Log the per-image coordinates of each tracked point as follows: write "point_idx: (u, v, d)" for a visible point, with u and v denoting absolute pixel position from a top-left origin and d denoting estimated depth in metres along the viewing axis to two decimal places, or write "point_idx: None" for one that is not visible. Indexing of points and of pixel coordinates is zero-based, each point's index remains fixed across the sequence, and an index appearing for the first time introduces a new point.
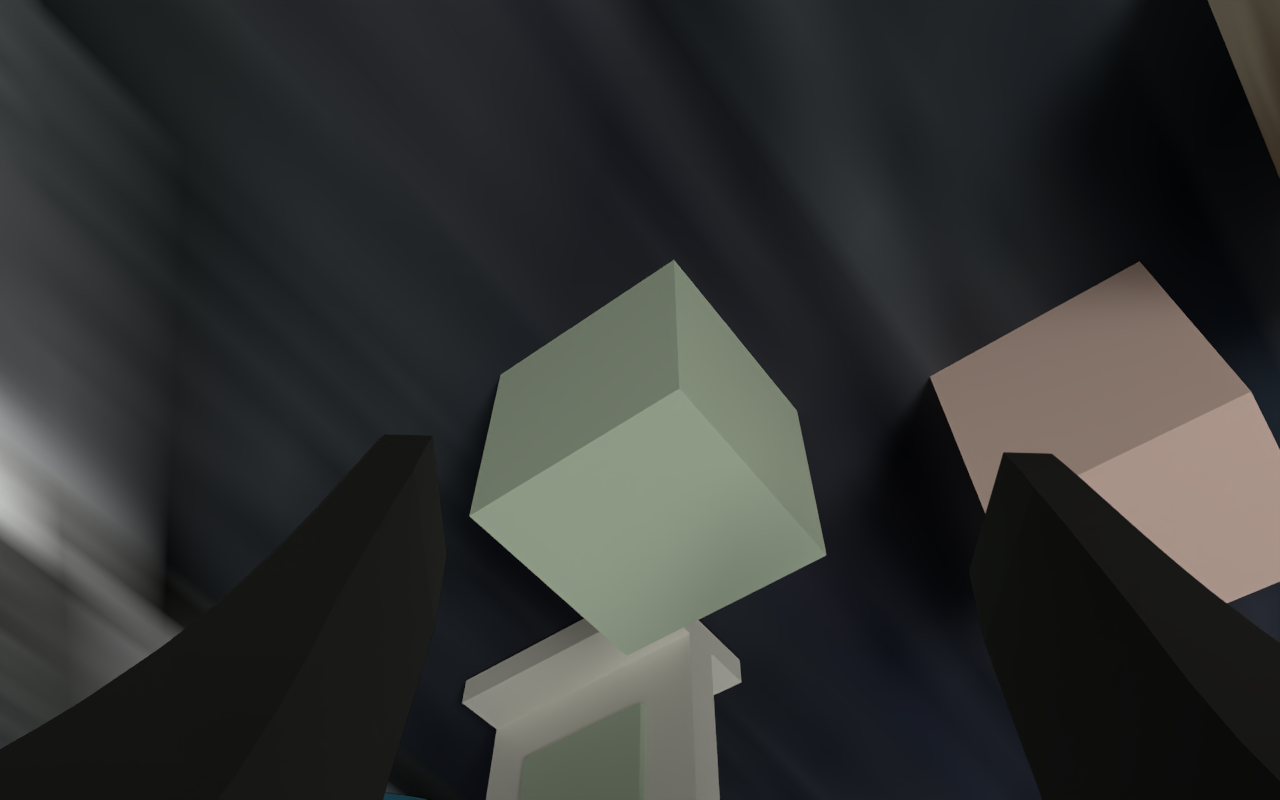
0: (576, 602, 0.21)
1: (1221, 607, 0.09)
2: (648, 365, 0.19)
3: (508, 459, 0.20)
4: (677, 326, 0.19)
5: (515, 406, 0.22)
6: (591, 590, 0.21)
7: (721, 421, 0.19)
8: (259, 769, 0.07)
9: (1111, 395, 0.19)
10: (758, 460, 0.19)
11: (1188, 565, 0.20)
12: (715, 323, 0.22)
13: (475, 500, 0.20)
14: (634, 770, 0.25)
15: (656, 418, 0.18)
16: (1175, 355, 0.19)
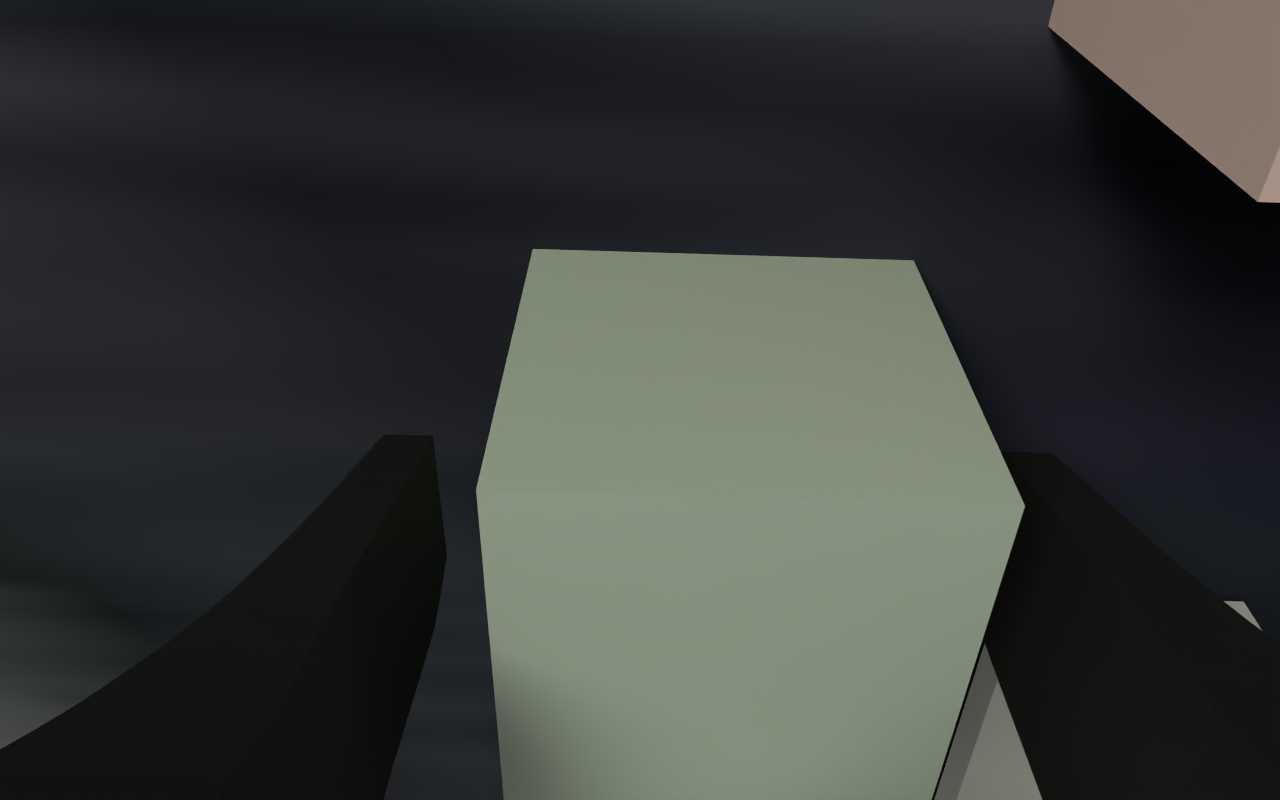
0: None
1: (1221, 607, 0.09)
2: None
3: None
4: (509, 363, 0.11)
5: None
6: (759, 788, 0.12)
7: (625, 461, 0.10)
8: (259, 769, 0.07)
9: None
10: (761, 455, 0.10)
11: None
12: (648, 274, 0.13)
13: None
14: None
15: (512, 549, 0.10)
16: None
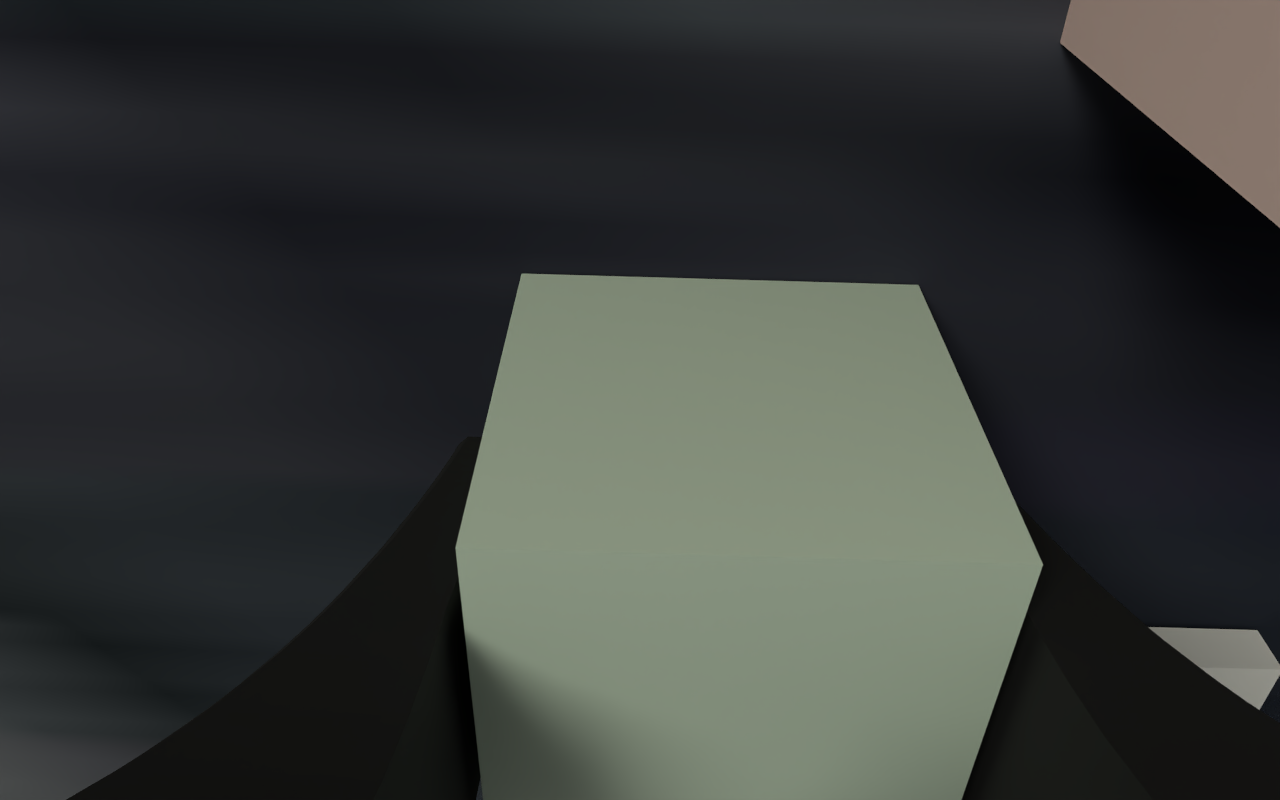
0: None
1: (1110, 604, 0.09)
2: None
3: None
4: (493, 403, 0.10)
5: None
6: None
7: (616, 514, 0.09)
8: (397, 773, 0.07)
9: None
10: (761, 506, 0.09)
11: None
12: (641, 304, 0.12)
13: None
14: None
15: (496, 608, 0.09)
16: None
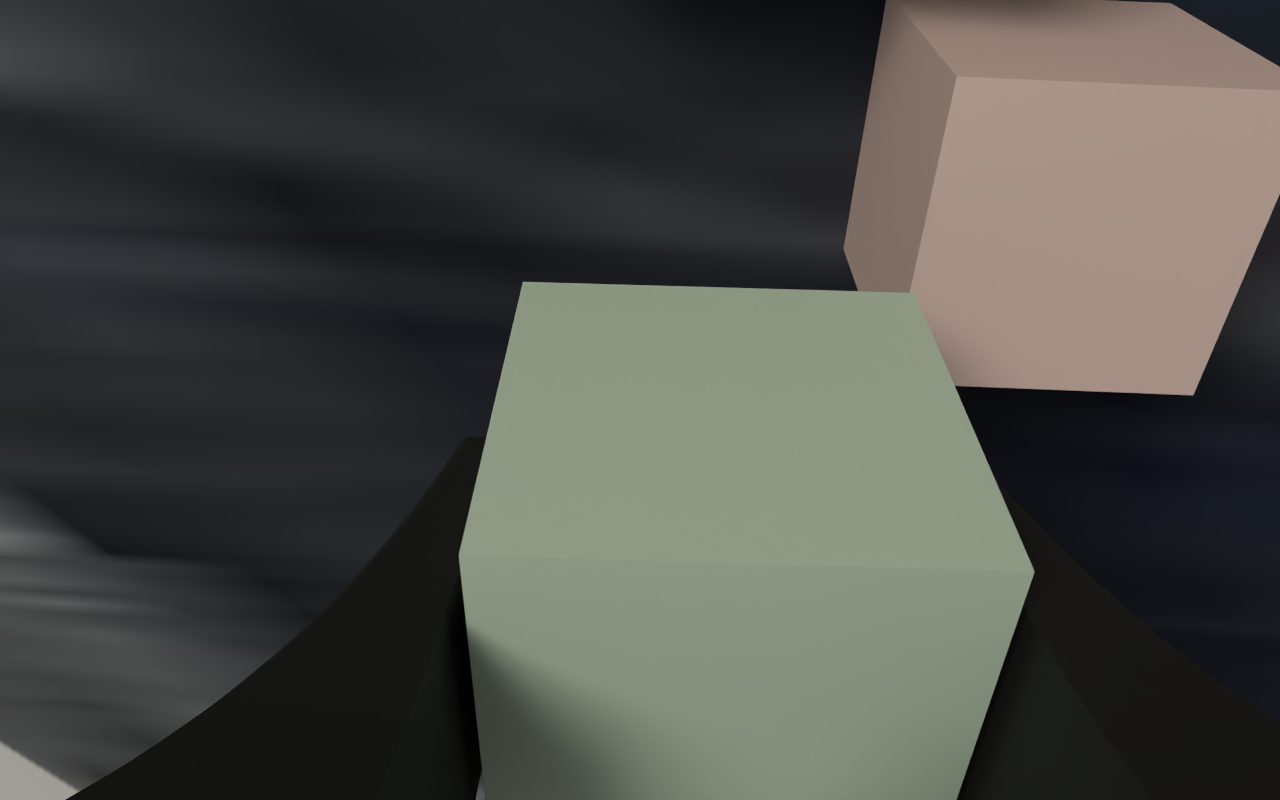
0: None
1: (1111, 604, 0.09)
2: None
3: None
4: (495, 411, 0.10)
5: None
6: None
7: (615, 521, 0.09)
8: (397, 773, 0.07)
9: (906, 168, 0.16)
10: (758, 514, 0.09)
11: (1154, 245, 0.15)
12: (641, 312, 0.12)
13: None
14: None
15: (498, 613, 0.09)
16: (920, 82, 0.15)
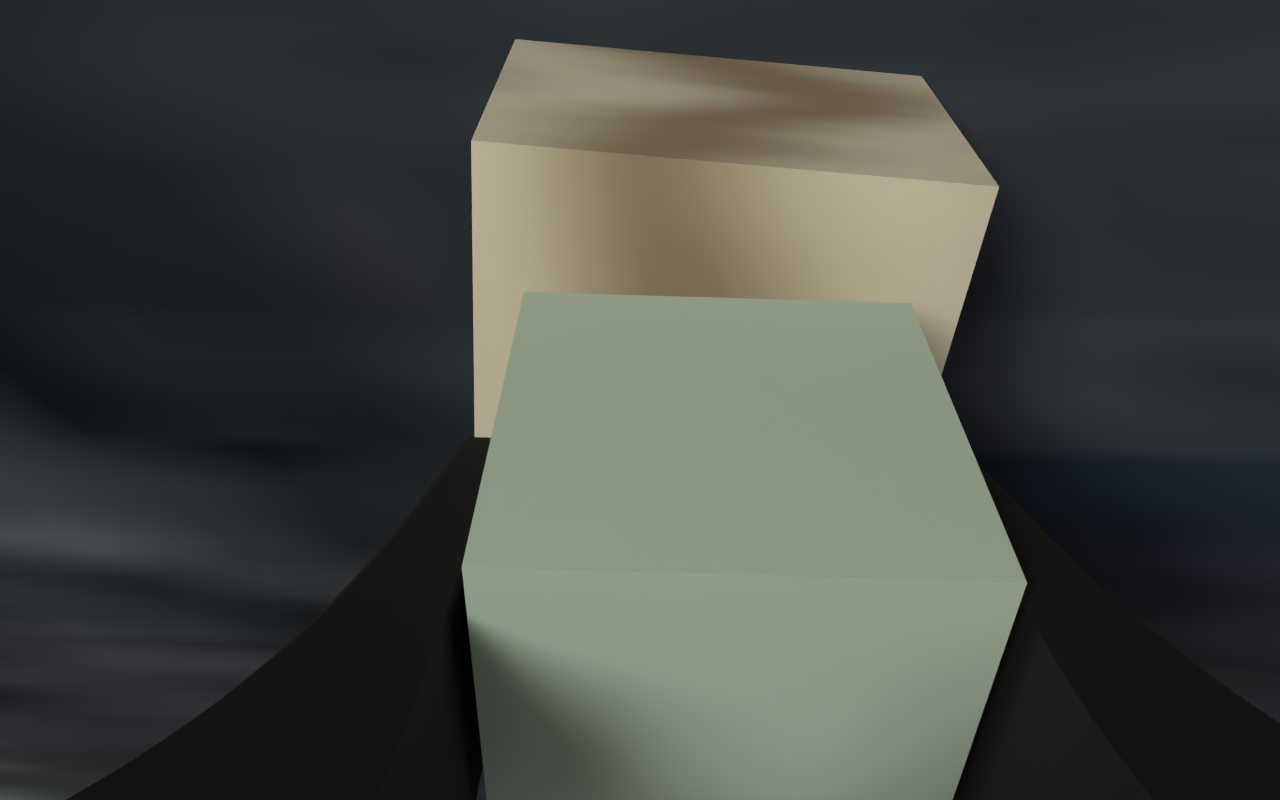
0: None
1: (1110, 604, 0.09)
2: None
3: None
4: (497, 422, 0.11)
5: None
6: None
7: (616, 534, 0.09)
8: (397, 773, 0.07)
9: None
10: (756, 524, 0.09)
11: None
12: (641, 323, 0.12)
13: None
14: None
15: (500, 623, 0.09)
16: None
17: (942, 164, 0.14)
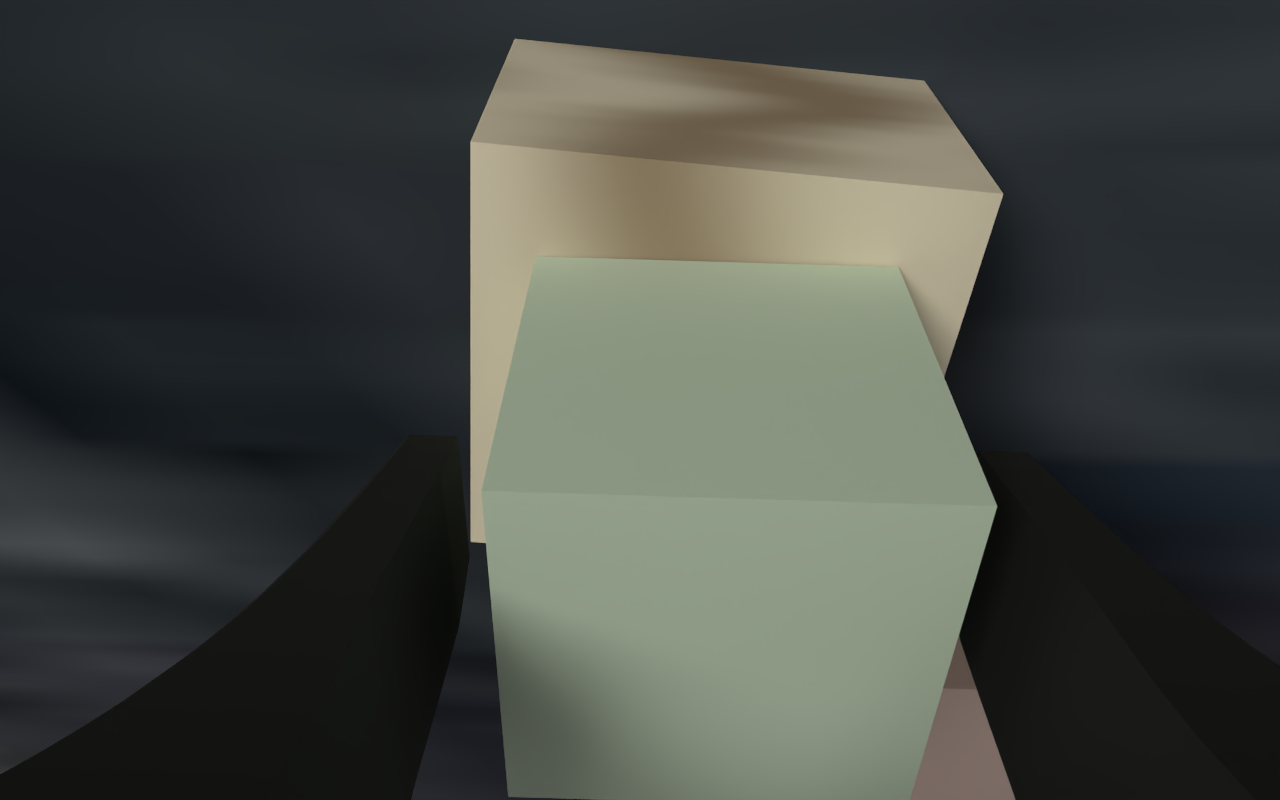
0: (755, 796, 0.12)
1: (1188, 606, 0.09)
2: None
3: None
4: (512, 369, 0.11)
5: None
6: (750, 773, 0.12)
7: (622, 463, 0.10)
8: (301, 770, 0.07)
9: None
10: (750, 457, 0.10)
11: (977, 768, 0.20)
12: (645, 284, 0.13)
13: None
14: None
15: (516, 546, 0.10)
16: None
17: (946, 170, 0.14)
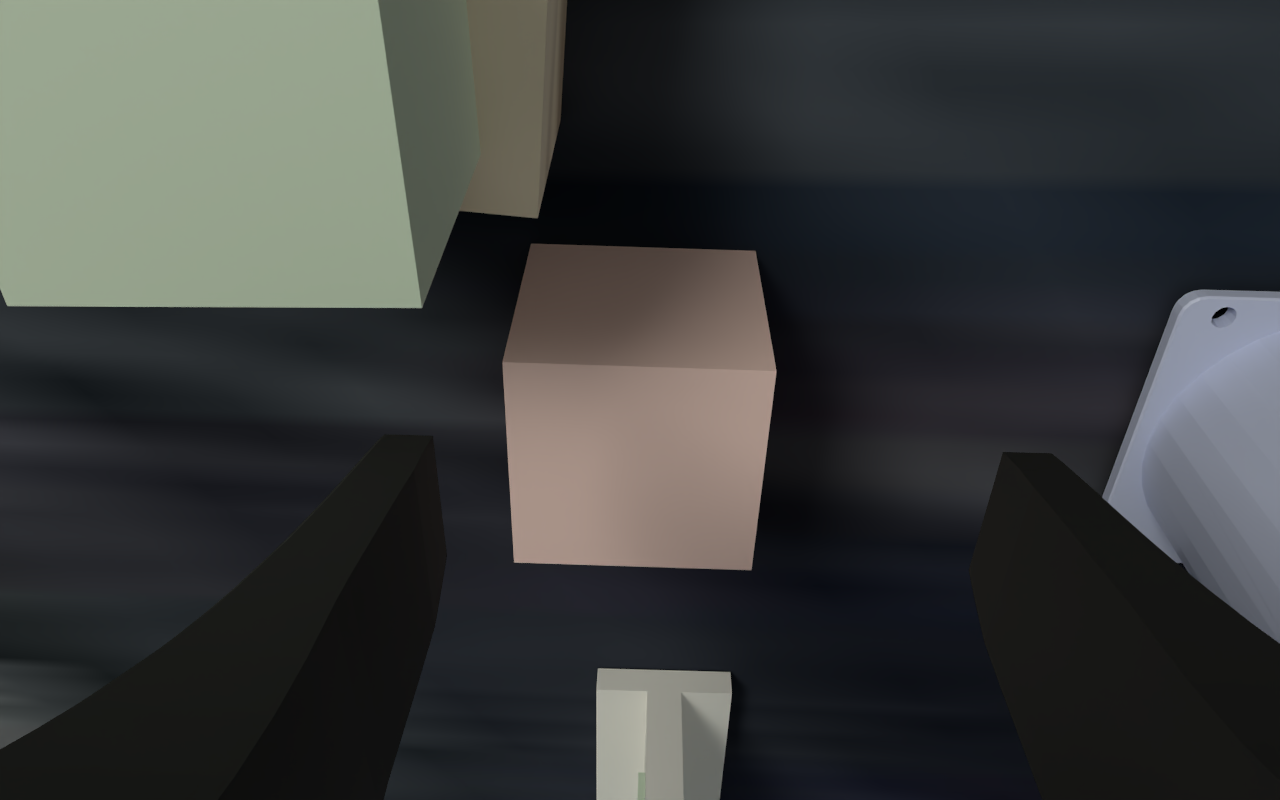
0: (260, 295, 0.12)
1: (1220, 607, 0.09)
2: None
3: None
4: None
5: None
6: (242, 260, 0.12)
7: None
8: (259, 769, 0.07)
9: None
10: None
11: (685, 469, 0.20)
12: None
13: None
14: None
15: None
16: None
17: None
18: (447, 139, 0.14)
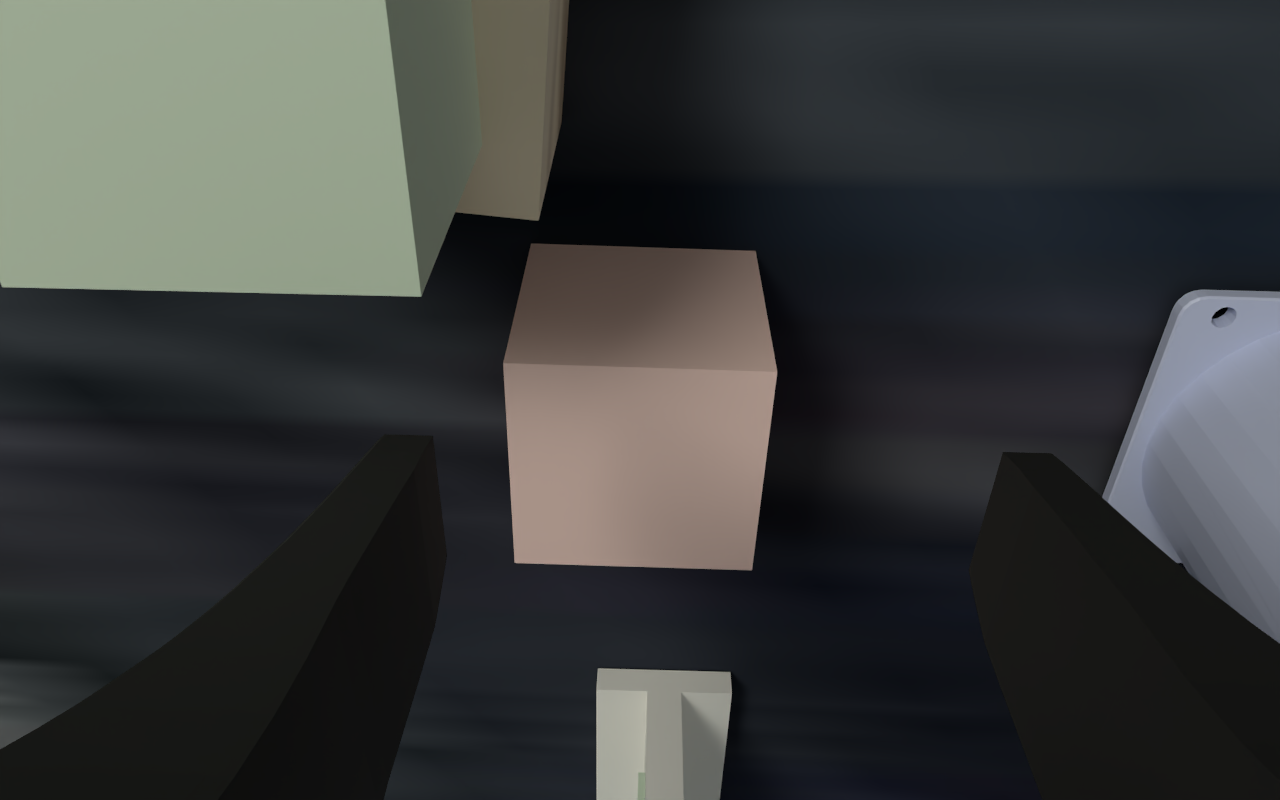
0: (258, 280, 0.12)
1: (1220, 607, 0.09)
2: None
3: None
4: None
5: None
6: (241, 244, 0.12)
7: None
8: (259, 769, 0.07)
9: None
10: None
11: (686, 470, 0.20)
12: None
13: None
14: None
15: None
16: None
17: None
18: (449, 128, 0.13)
